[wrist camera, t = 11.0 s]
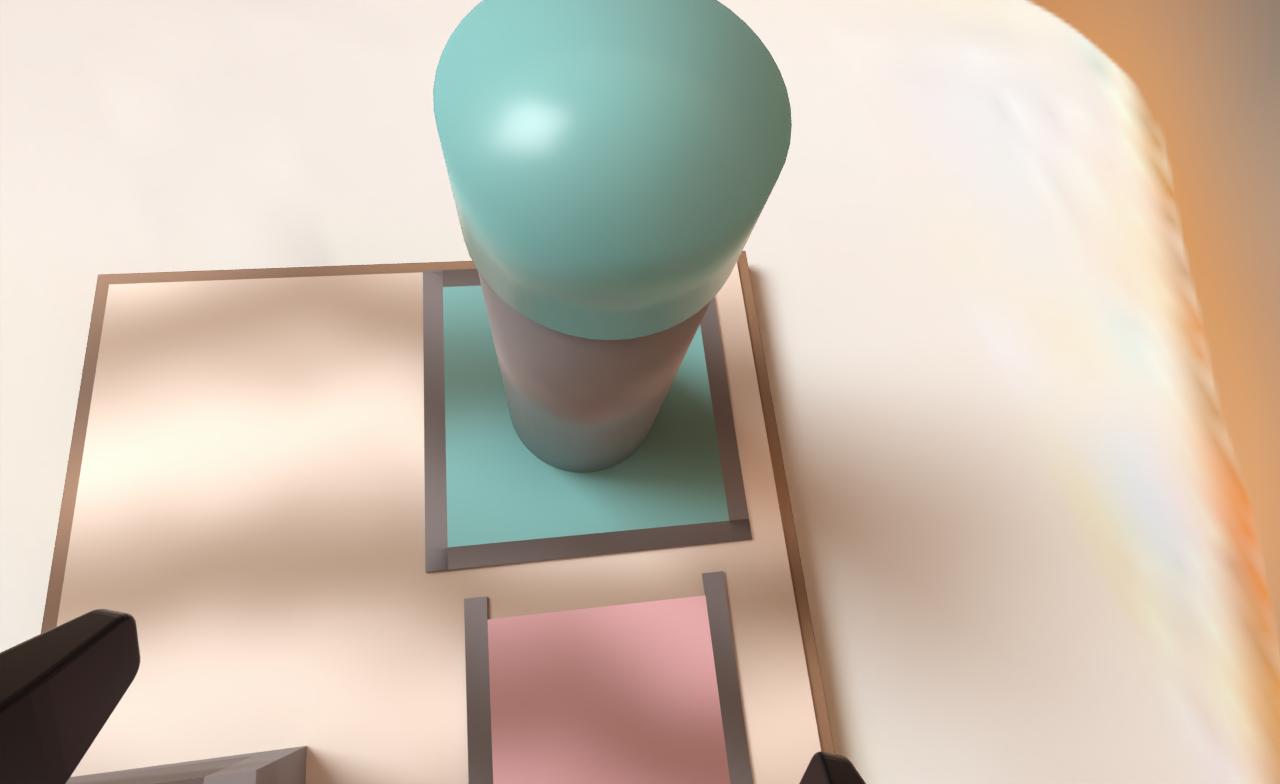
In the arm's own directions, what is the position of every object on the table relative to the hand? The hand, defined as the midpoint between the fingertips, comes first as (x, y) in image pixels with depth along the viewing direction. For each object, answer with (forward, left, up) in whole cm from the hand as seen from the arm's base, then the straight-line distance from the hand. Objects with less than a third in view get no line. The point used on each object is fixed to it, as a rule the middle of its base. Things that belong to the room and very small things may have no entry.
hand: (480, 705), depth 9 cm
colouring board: (+2, +2, -11) cm, 11 cm away
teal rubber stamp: (+7, -2, -10) cm, 12 cm away
